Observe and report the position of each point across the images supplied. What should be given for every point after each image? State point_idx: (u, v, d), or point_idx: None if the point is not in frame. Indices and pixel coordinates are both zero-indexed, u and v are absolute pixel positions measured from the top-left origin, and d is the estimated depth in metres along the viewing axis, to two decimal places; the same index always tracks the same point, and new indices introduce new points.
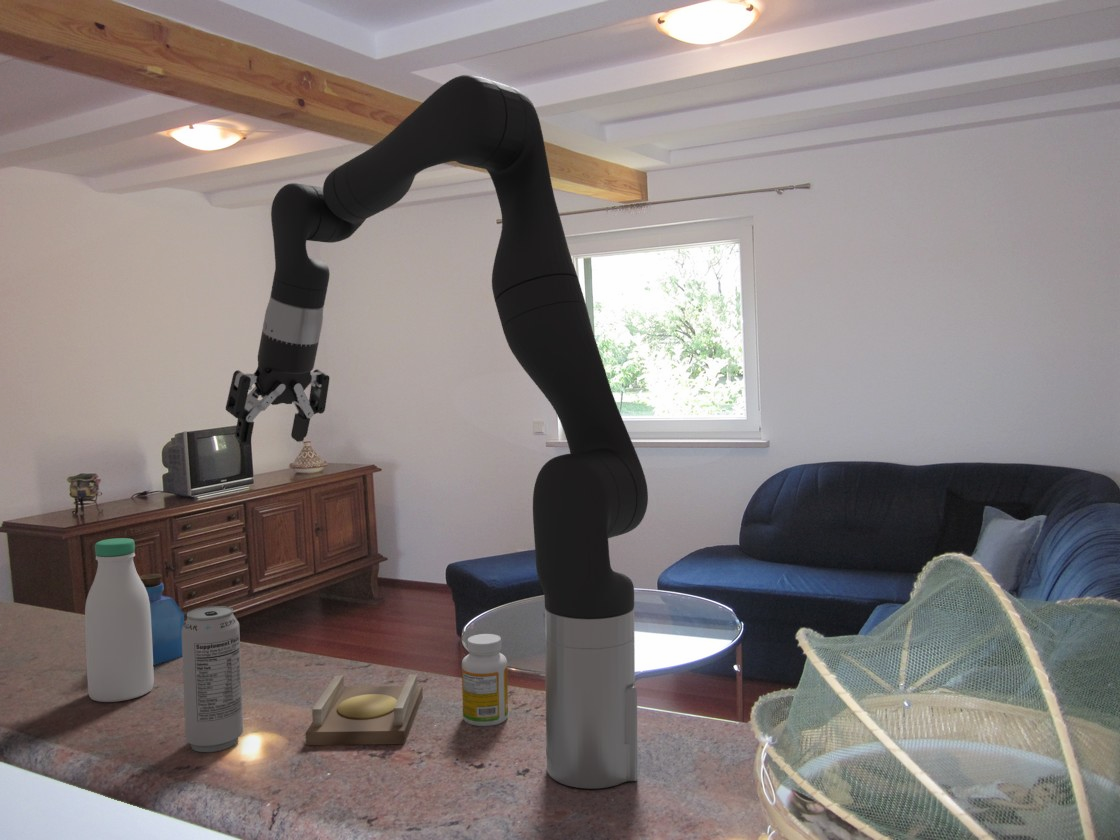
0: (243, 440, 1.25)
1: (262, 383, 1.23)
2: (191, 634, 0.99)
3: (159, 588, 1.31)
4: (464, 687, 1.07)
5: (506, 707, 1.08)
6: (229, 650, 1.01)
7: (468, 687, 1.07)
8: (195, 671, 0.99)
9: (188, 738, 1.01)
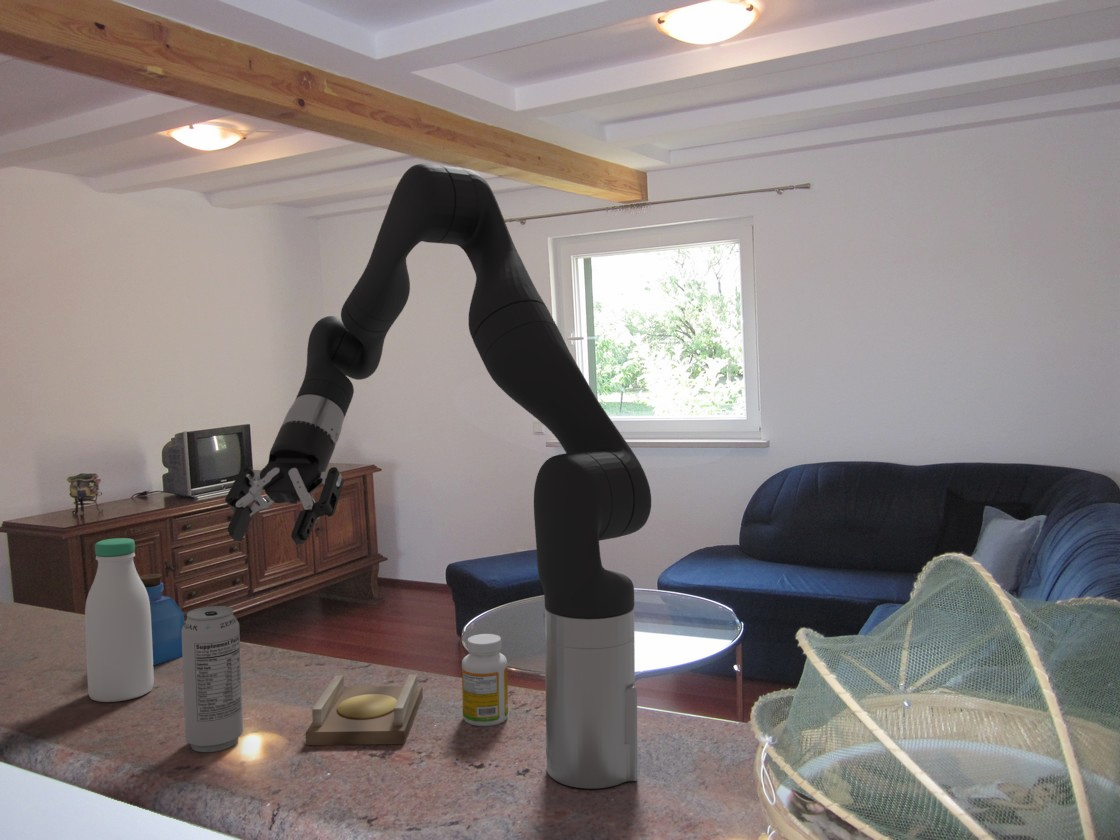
0: None
1: (262, 472, 1.18)
2: (191, 634, 0.99)
3: (159, 588, 1.31)
4: (464, 687, 1.07)
5: (506, 707, 1.08)
6: (229, 650, 1.01)
7: (468, 687, 1.07)
8: (195, 671, 0.99)
9: (188, 738, 1.01)
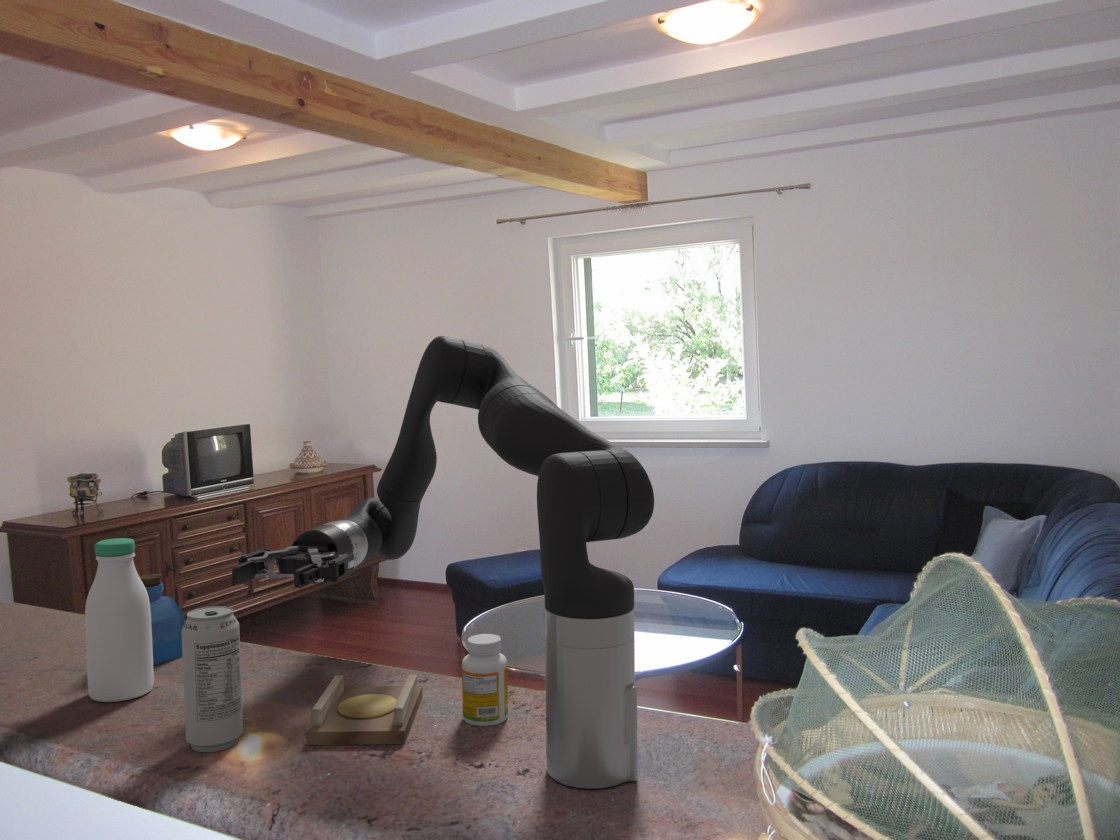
0: None
1: None
2: (191, 634, 0.99)
3: (159, 588, 1.31)
4: (464, 687, 1.07)
5: (506, 707, 1.08)
6: (229, 650, 1.01)
7: (468, 687, 1.07)
8: (195, 671, 0.99)
9: (188, 738, 1.01)
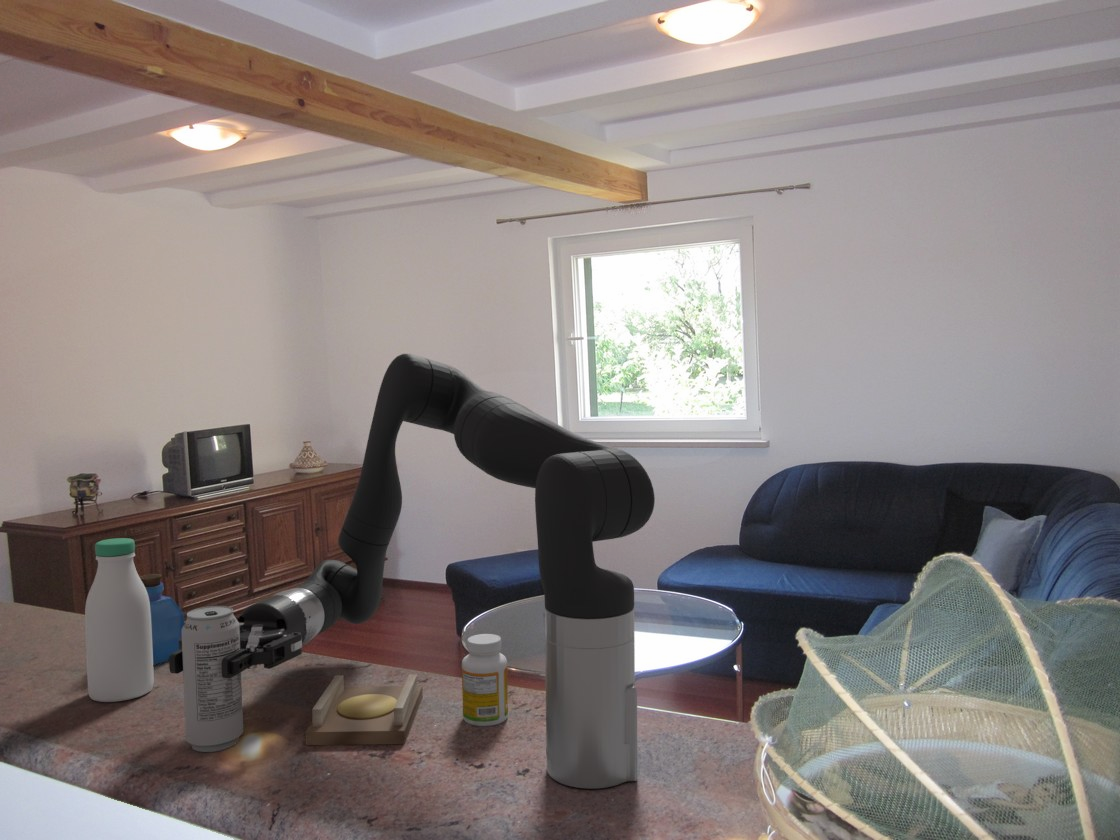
0: None
1: None
2: (191, 634, 0.99)
3: (159, 588, 1.31)
4: (464, 687, 1.07)
5: (506, 707, 1.08)
6: (229, 650, 1.01)
7: (468, 687, 1.07)
8: (195, 671, 0.99)
9: (188, 738, 1.01)
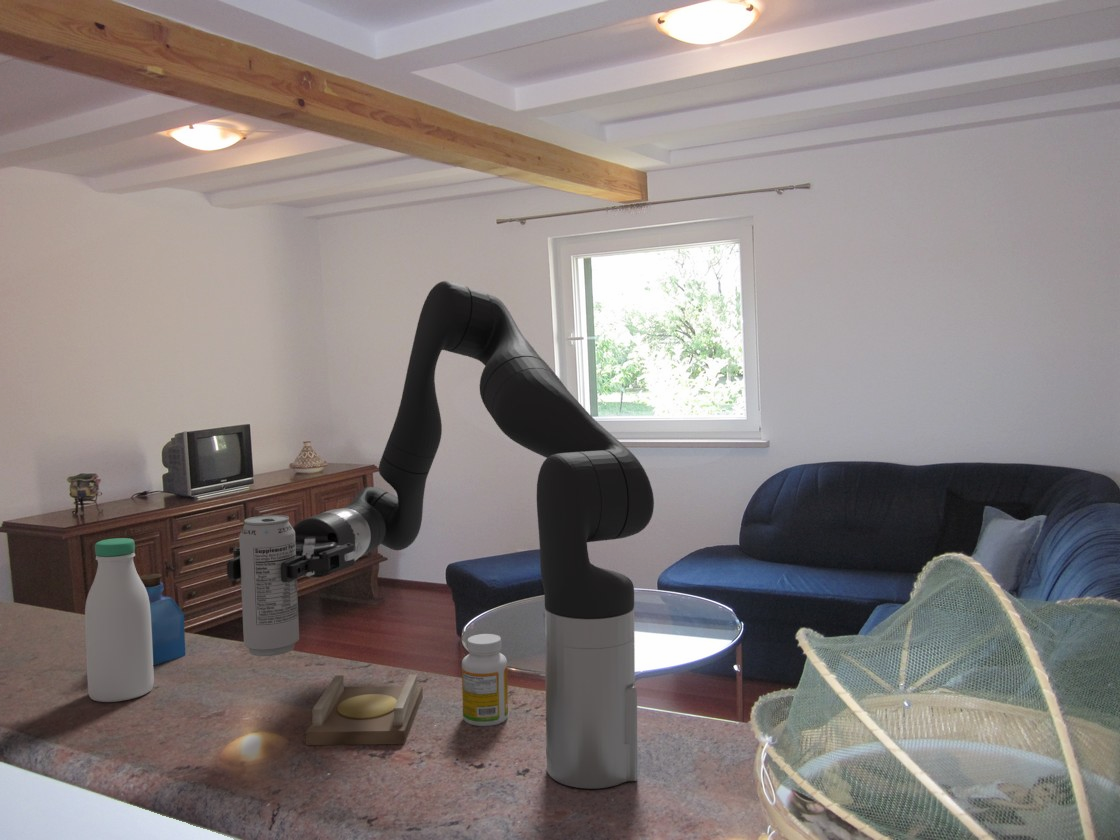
0: None
1: None
2: (250, 538, 1.00)
3: (159, 588, 1.31)
4: (464, 687, 1.07)
5: (506, 707, 1.08)
6: (287, 555, 1.02)
7: (468, 687, 1.07)
8: (254, 575, 1.00)
9: (247, 643, 1.02)
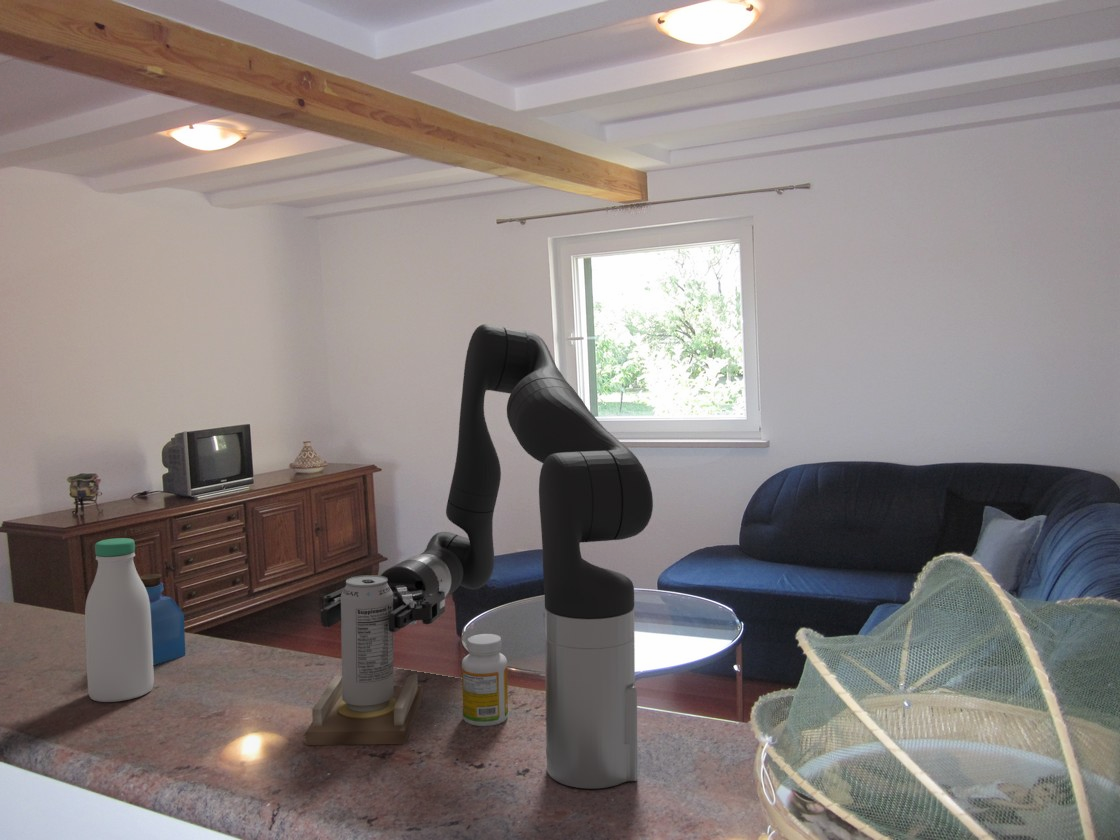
0: None
1: None
2: (353, 600, 1.05)
3: (159, 588, 1.31)
4: (464, 687, 1.07)
5: (506, 707, 1.08)
6: (386, 616, 1.07)
7: (468, 687, 1.07)
8: (355, 635, 1.05)
9: (346, 698, 1.07)
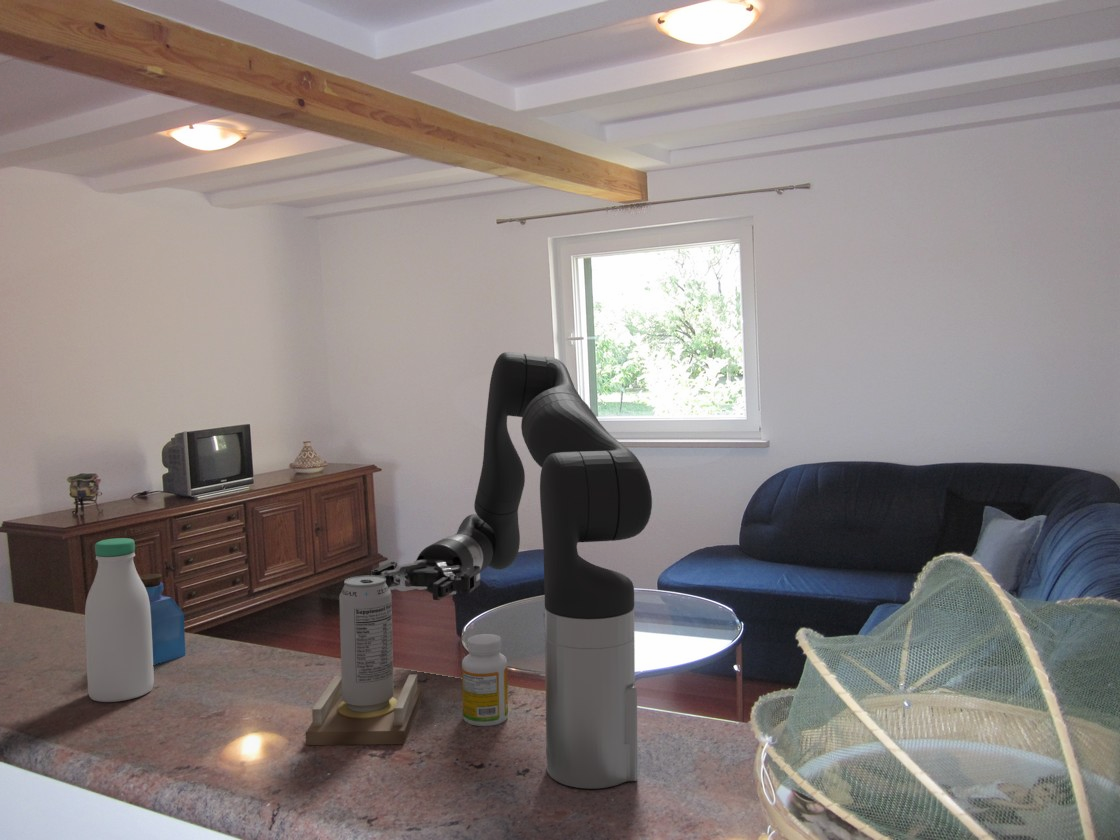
0: None
1: None
2: (351, 600, 1.05)
3: (159, 588, 1.31)
4: (464, 687, 1.07)
5: (506, 707, 1.08)
6: (385, 616, 1.07)
7: (468, 687, 1.07)
8: (354, 635, 1.06)
9: (346, 699, 1.07)
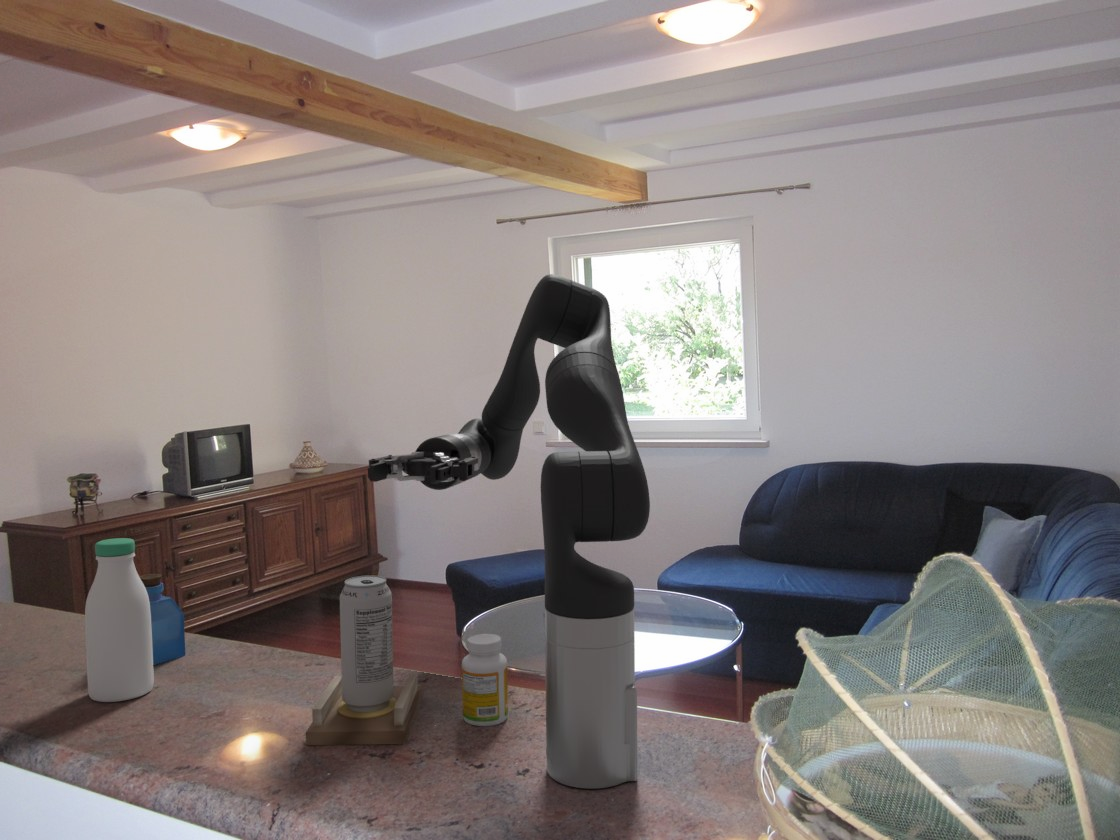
0: None
1: None
2: (351, 600, 1.05)
3: (159, 588, 1.31)
4: (464, 687, 1.07)
5: (506, 707, 1.08)
6: (385, 616, 1.07)
7: (468, 687, 1.07)
8: (354, 636, 1.05)
9: (346, 699, 1.07)
